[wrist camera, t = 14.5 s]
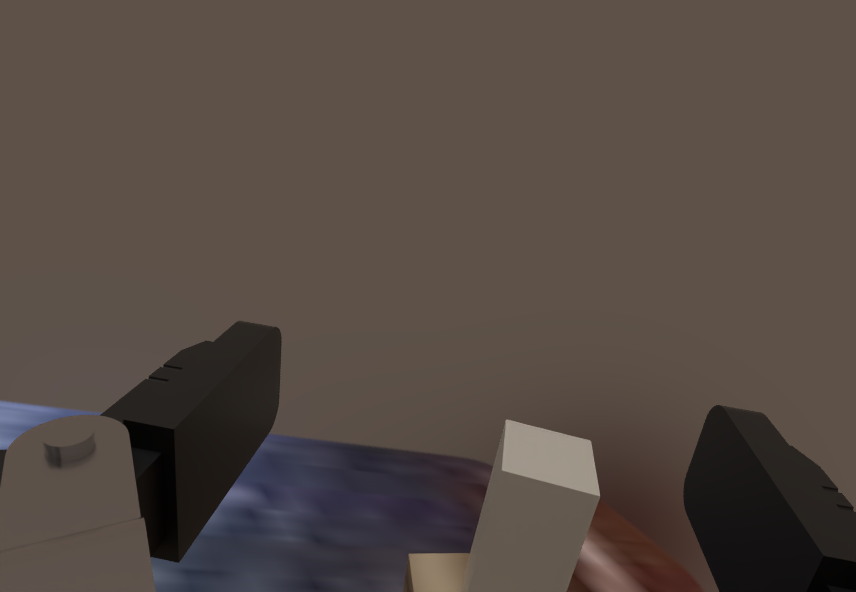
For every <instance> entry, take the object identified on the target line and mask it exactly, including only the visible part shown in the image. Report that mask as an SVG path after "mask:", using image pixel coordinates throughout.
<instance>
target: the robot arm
mask: <svg viewBox="0 0 856 592" xmlns="http://www.w3.org/2000/svg"><path fill="white" fill-rule="evenodd" d="M280 364H281V333H280V330H279V328H277V327H272V326H267V325H261V324H255V323H249V322H243V321H238V322H236V323H235V324H234V325H232V326H231V327H230V328H229V329H228V330H227V331H226V332H224V333H223V334H222V335H221V336H220V337H219V338H217V339H216V340H215V341H214V342H211V341H204V342H202V343H199V344H197V345H194V346H191V347H189V348H186V349H184V350H181V351H180V352H179V353H177V354H176V355H175V356H174V357H172V358H171V359H170V360H169V361H167V362H166V363H165V364H164V367H163V368H162V367H160V368H159V369H157V370H156V371H155V372H154V373H152V374H151V375H150V376H149V379H148V380H147V379H145V380H144V381H143V382H141V383H140V384H139V385H137V386H136V387H135V388H134V389H132V390H131V391H130V392H129V393H127V394H126V395H125V396H124V397H122V398H121V399H120V400H119V401H117V402H116V403H115V404H114V405H112V406H111V407H110V408H109V409H107V410H106V411H105V412H104V413H102V414H101V415H100V416H99V415H78V416H69V417H64V418H59V419H56V420H52V421H49V422H46V423H43V424H40V425H38V426H36V427H34V428H32V429H30V430H28V431H26V432H25V433H23V434H22V435H20V436H19V437H18V438H16V439H15V440H14V441H13V442H12V443H11V445H10V446H9V448H8V449H7V450H0V592H155V586H154V579H153V573H152V566H151V559H150V558H151V557H154V558H159V559H164V560H168V561H173V562H178V563H179V562H180V560H181V559H182V558H183V556H184V555H185V553H186V552H187V550H188V549H189V548H190V546H191V545H192V543H193V542H194V540H195V539H196V537H197V536H198V535H199V533H200V532H201V530H202V529H203V527H204V526H205V524H206V523H207V522H208V520H209V519H210V517H211V516H212V514H213V513H214V511H215V510H216V509H217V507H218V506H219V504H220V503H221V501H222V500H223V499H224V497H225V496H226V494H227V493H228V491H229V490H230V488H231V487H232V486H233V484H234V483H235V481H236V480H237V478H238V477H239V475H240V474H241V473H242V471H243V470H244V468H245V467H246V465H247V464H248V462H249V461H250V460H251V458H252V457H253V455H254V454H255V452H256V451H257V450H258V448H259V447H260V445H261V444H262V442H263V441H264V439H265V438H266V437H267V435H268V434H269V432H270V430H271V428H272V426H273V424H274V421H275V418H276V414H277V411H278V405H279V390H280ZM684 506H685V510H686V513H687V516H688V518H689V520H690V523H691V525H692V528H693V530H694V532H695V535H696V537H697V539H698V542H699V544H700V547H701V549H702V551H703V554H704V556H705V558H706V561H707V563H708V566H709V568H710V570H711V573H712V575H713V577H714V580H715V582H716V584H717V587H718V589H719V592H856V512H854V511H853V506H852V505H851V504H850V503H849V501H848V500H847V499H846V498H845V496H844V495H843V494H842V493H838V488H837V487H836V486H835V484H834V483H833V482H832V481H831V480H830V478H829V477H828V476H827V475H826V474H825V472H824V471H823V470H822V469H821V467H820V466H818V465H817V464H815V463H814V462H813V461H811V460H810V459H809V458H807V457H806V456H805V455H803V454H802V453H801V452H799V451H798V450H797V449H795V448H794V447H793V446H789V444H788V443H787V442H786V441H785V439H784V438H783V437H782V436H781V434H780V433H779V432H778V431H777V429H776V428H775V427H774V426H773V425H772V423H771V422H770V421H769V419H768V418H767V417H766V416H765V415H764V414H763V413H760V412H754V411H748V410H743V409H736V408H731V407H726V406H720V405H716V406H714V407H713V408H712V409H711V410H710V411H709V414H708V415H707V418H706V420H705V423H704V426H703V429H702V432H701V435H700V437H699V440H698V443H697V446H696V449H695V452H694V454H693V458H692V460H691V463H690V466H689V469H688V472H687V474H686V478H685V482H684Z"/></svg>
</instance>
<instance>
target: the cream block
mask: <svg viewBox="0 0 856 592" xmlns="http://www.w3.org/2000/svg"><path fill="white" fill-rule="evenodd" d="M599 498H600V492H599V487H598V481H597V475H596V469H595V463H594V457H593V452H592V446H591V441H589V440H585V439H581V438H577V437H573V436H569V435H565V434H561V433H558V432H554V431H550V430H546V429H542V428H538V427H534V426H530V425H526V424H522V423H518V422H514V421H510V420H506V422H505V425H504V430H503V433H502V437H501V440H500V444H499V448H498V452H497V455H496V459H495V463H494V466H493V470H492V474H491V478H490V481H489V485H488V489H487V492H486V496H485V500H484V504H483V507H482V511H481V515H480V518H479V522H478V526H477V530H476V533H475V537H474V541H473V544H472V548H471V552H470V556H469V559H468V563H467V567H466V570H465V575H464V582H463V589H462V592H566V591H567V588H568V585H569V583H570V580H571V577H572V574H573V571H574V568H575V566H576V563H577V560H578V557H579V554H580V552H581V549H582V546H583V543H584V540H585V538H586V535H587V532H588V529H589V526H590V523H591V521H592V518H593V515H594V512H595V509H596V507H597V504H598V501H599Z"/></svg>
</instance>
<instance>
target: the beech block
mask: <svg viewBox="0 0 856 592" xmlns="http://www.w3.org/2000/svg"><path fill="white" fill-rule="evenodd" d="M469 556H470V553H452V554H409V556H408V563H407V570H406V577H405V584H404V592H462V589H463V582H464V575H465V570H466V567H467V563H468V559H469Z"/></svg>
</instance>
